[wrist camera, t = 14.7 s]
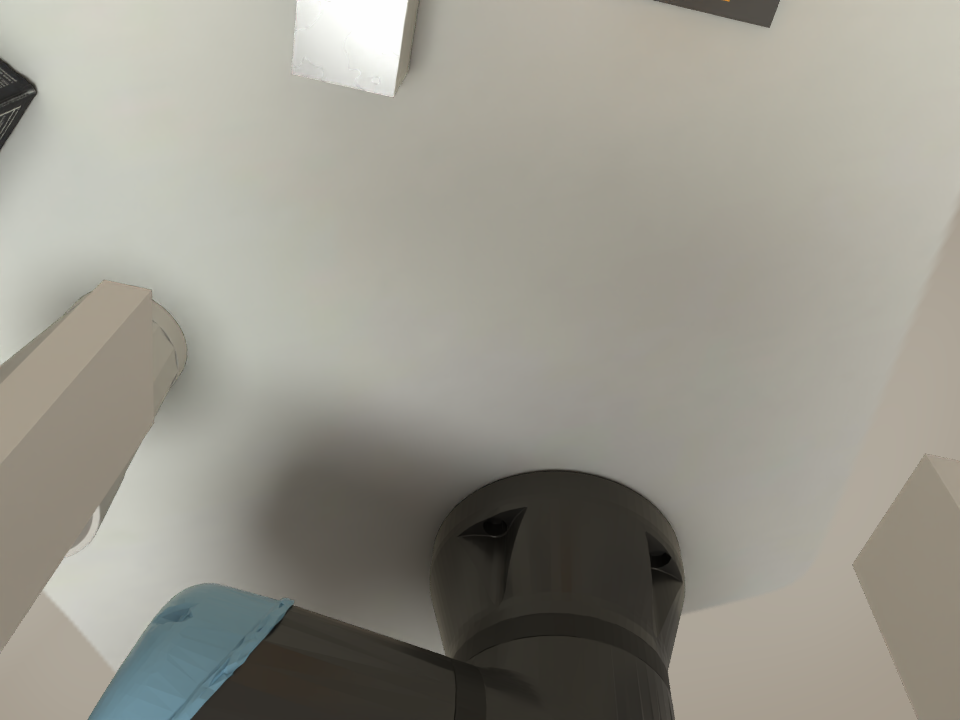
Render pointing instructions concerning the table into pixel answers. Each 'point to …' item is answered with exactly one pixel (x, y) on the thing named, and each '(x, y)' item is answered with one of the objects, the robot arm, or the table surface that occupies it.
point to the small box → (12, 99)
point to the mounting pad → (734, 9)
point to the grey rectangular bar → (355, 42)
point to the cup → (165, 372)
